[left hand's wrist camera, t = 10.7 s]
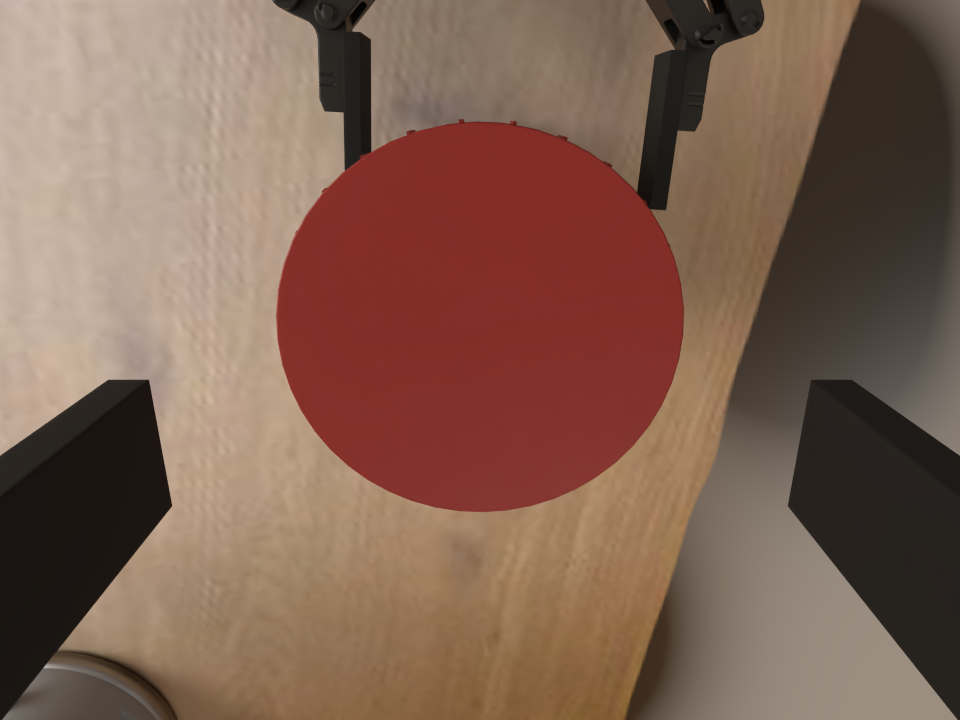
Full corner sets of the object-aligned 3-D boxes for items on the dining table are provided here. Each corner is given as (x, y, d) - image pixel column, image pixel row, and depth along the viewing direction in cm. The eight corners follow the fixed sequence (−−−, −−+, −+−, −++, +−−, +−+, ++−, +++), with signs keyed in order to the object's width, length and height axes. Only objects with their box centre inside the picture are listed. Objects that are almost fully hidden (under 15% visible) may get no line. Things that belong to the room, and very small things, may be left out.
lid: (747, 279, 20) (773, 295, 19) (513, 539, 24) (515, 575, 22) (436, 27, 18) (431, 16, 16) (223, 355, 21) (199, 378, 19)
